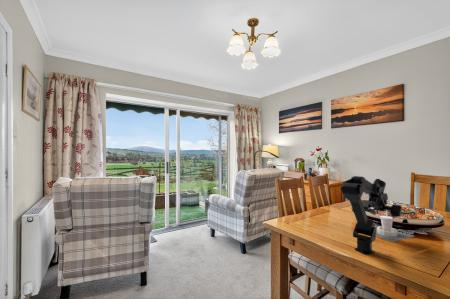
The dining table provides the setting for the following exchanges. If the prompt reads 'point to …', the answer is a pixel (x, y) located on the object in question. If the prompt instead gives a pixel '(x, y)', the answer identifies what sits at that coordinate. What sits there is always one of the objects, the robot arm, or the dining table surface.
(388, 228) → the smoothie
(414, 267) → the dining table surface
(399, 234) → the mat
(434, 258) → the dining table surface
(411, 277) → the dining table surface
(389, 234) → the collar
